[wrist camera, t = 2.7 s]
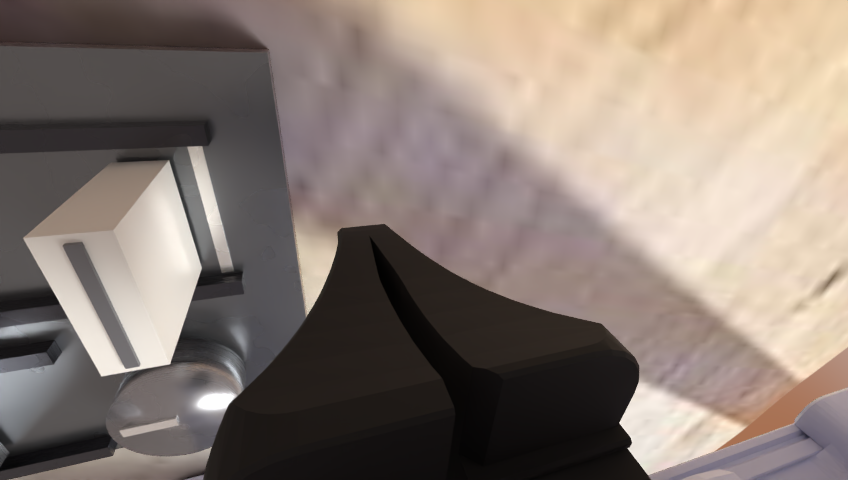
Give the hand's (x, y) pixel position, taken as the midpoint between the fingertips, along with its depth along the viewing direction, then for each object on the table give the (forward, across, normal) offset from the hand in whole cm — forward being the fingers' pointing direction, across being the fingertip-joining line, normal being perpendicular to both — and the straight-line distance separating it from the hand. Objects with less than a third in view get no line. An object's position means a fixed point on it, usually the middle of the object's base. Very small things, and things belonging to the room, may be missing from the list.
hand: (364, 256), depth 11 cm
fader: (+4, +6, 0) cm, 7 cm away
